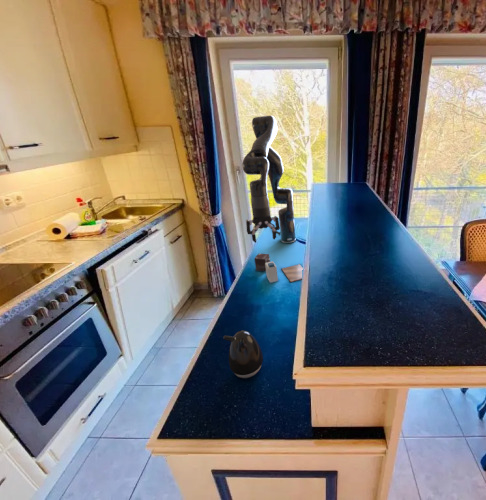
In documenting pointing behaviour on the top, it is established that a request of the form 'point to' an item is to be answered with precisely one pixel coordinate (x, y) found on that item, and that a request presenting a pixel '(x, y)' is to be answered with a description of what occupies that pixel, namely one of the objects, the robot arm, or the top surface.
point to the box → (261, 261)
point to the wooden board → (293, 272)
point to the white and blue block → (271, 271)
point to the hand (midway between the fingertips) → (264, 240)
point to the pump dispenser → (244, 354)
